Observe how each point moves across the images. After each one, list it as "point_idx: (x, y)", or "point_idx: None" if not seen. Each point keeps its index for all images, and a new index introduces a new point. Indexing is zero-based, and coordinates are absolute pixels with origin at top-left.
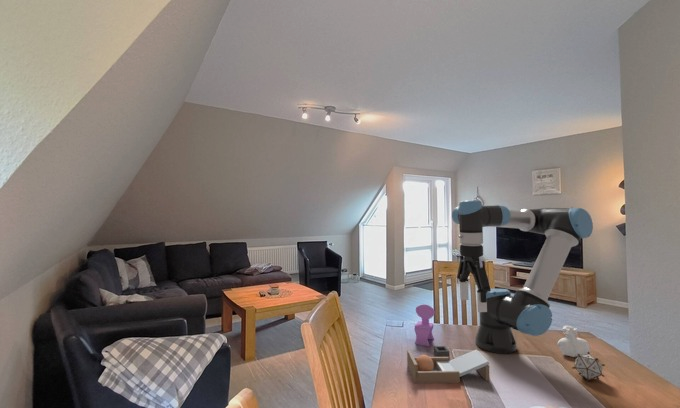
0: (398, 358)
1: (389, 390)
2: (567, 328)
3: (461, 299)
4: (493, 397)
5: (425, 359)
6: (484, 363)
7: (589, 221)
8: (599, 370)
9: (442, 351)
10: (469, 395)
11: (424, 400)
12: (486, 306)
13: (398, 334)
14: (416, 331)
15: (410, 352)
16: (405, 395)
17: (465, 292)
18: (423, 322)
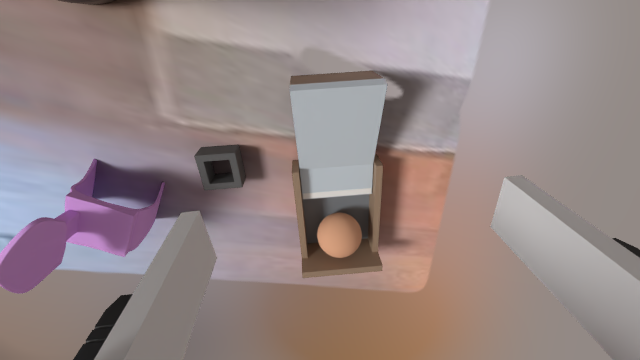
0: (261, 259)
1: (392, 278)
2: None
3: (214, 260)
4: (448, 94)
5: (355, 247)
6: (384, 96)
7: None
8: None
9: (239, 173)
10: (430, 148)
11: (431, 232)
12: (553, 201)
13: (98, 251)
14: (140, 240)
15: (317, 272)
16: (411, 258)
17: (183, 282)
18: (75, 228)
